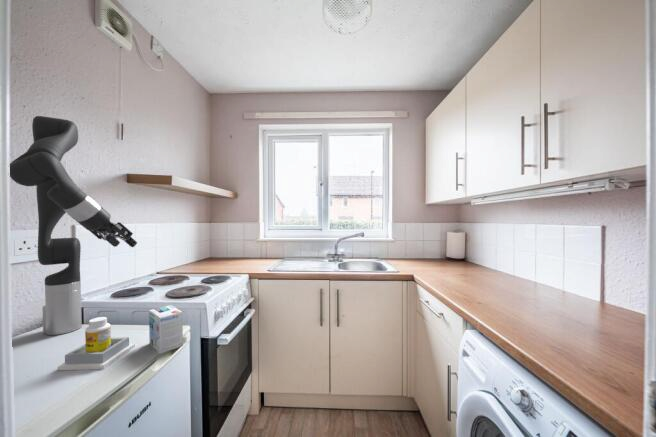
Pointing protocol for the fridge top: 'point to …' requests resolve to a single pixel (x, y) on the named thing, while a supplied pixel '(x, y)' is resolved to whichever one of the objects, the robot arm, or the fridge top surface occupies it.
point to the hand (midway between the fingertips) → (125, 244)
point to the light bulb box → (165, 328)
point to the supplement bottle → (98, 335)
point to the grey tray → (96, 356)
